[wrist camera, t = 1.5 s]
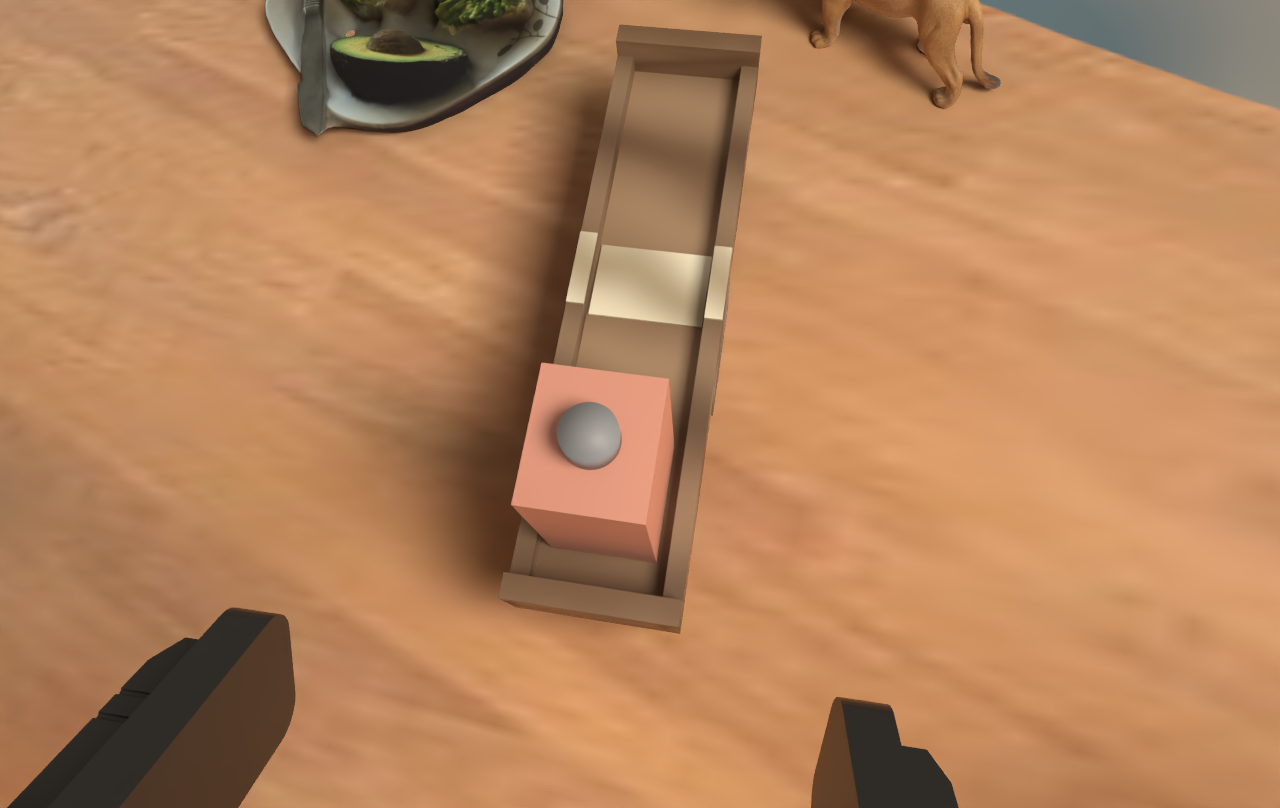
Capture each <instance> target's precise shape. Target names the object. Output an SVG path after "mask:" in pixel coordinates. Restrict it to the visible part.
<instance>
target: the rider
mask: <svg viewBox="0 0 1280 808" xmlns="http://www.w3.org/2000/svg"><path fill="white" fill-rule="evenodd" d="M673 453H674V435H673V423H672V411H671V398H670V386H669V379H666V378H659V377H651V376H643V375H635V374H627V373H619V372H611V371H604V370H596V369H588V368H580V367H572V366H564V365H556V364H549V363H541V368H540V372H539V377H538V382H537V386H536V391H535V396H534V400H533V405H532V410H531V414H530V419H529V424H528V428H527V433H526V438H525V442H524V447H523V451H522V456H521V461H520V465H519V470H518V475H517V479H516V484H515V489H514V493H513V498H512V503H511V505H512V507H513V508H514V509H515V510H516V511H517V512H518V513H519V514H520V515H521V516H522V517H523V518H524V519H525V520H526V521H527V522H528V523H529V524H530V525H531V526H532V527H533V528H534V529H535V530H536V531H537V532H538V533H539V534H540V536H541V537H542V538H543V539H544V540H545V541H546V542H547V543H548V544H549V545H550V546H551V547H555V548H561V549H568V550H574V551H581V552H588V553H594V554H601V555H607V556H614V557H620V558H627V559H633V560H640V561H646V562H653V563H657V557H658V551H659V544H660V538H661V531H662V525H663V518H664V511H665V505H666V498H667V492H668V485H669V479H670V472H671V466H672V459H673Z"/></svg>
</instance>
